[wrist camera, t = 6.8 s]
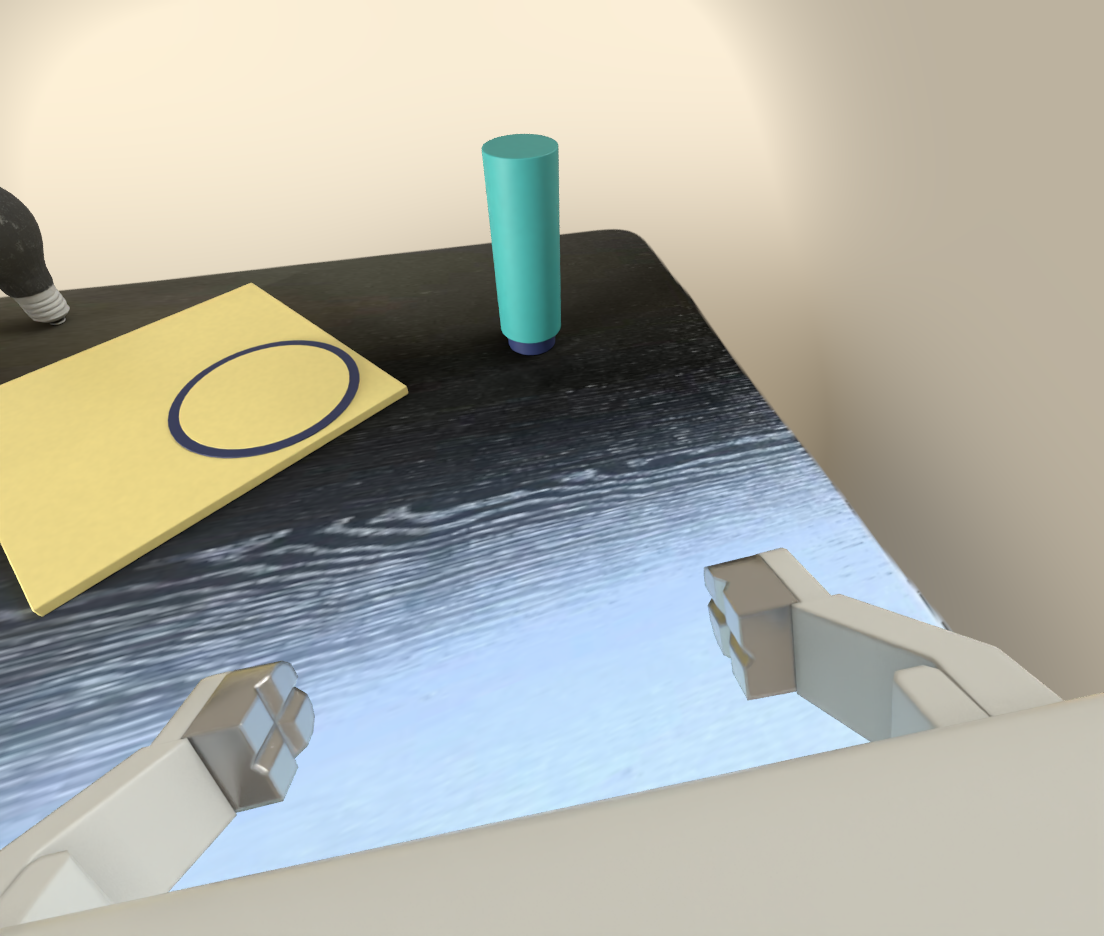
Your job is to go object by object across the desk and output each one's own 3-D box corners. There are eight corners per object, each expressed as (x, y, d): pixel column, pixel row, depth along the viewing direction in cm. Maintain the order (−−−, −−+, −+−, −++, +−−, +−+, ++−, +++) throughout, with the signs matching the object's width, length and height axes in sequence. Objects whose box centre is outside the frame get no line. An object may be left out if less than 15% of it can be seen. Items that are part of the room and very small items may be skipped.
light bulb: (-3, 347, 37) (-143, 199, 30) (35, 306, 41) (-81, 165, 34) (83, 338, 38) (-34, 190, 31) (112, 298, 42) (14, 158, 34)
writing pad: (-54, 417, 32) (-64, 408, 32) (254, 289, 42) (250, 280, 42) (42, 617, 23) (29, 609, 23) (409, 393, 33) (406, 384, 32)
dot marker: (490, 343, 36) (465, 147, 27) (531, 319, 38) (519, 129, 29) (533, 366, 34) (520, 164, 26) (573, 339, 36) (574, 143, 28)
